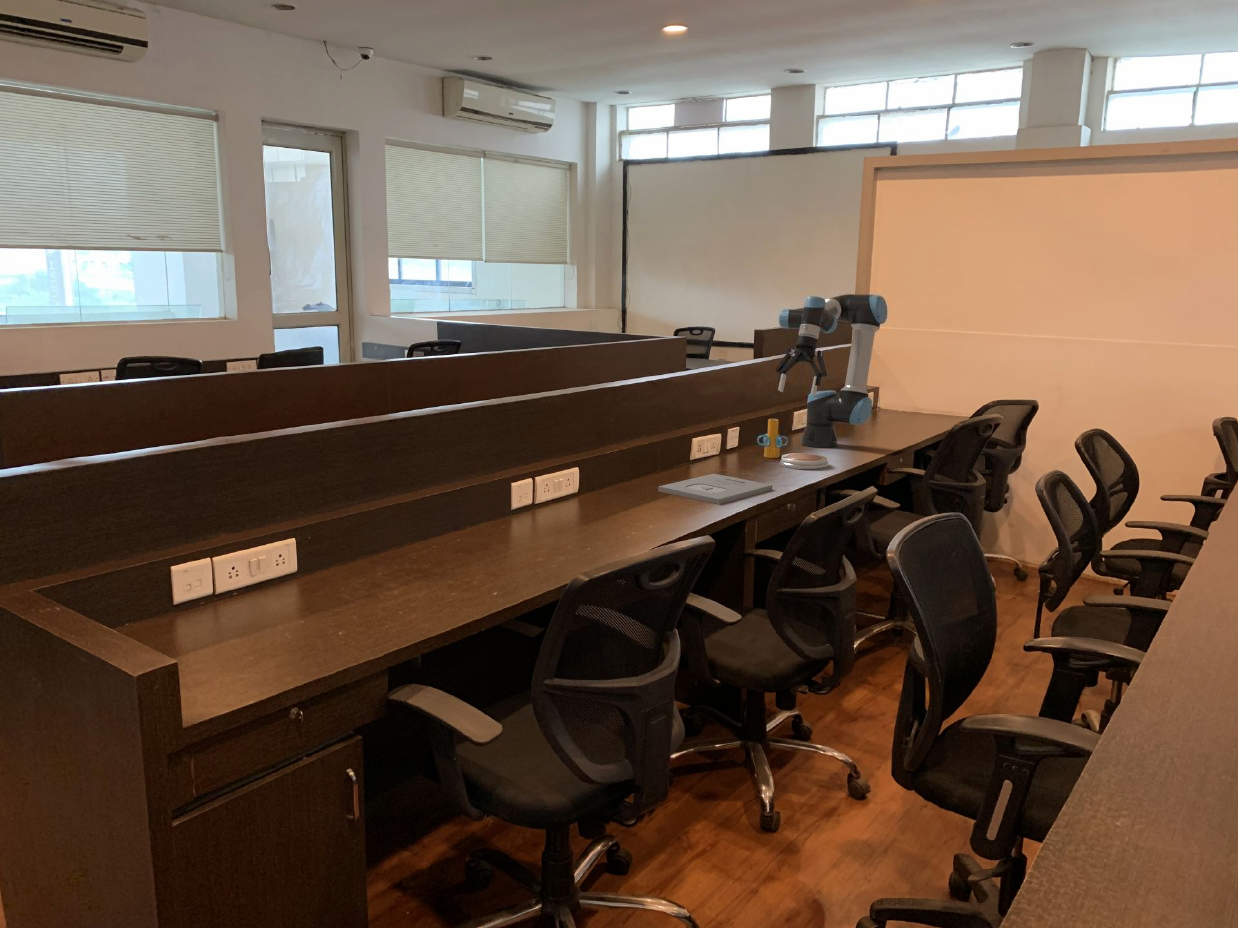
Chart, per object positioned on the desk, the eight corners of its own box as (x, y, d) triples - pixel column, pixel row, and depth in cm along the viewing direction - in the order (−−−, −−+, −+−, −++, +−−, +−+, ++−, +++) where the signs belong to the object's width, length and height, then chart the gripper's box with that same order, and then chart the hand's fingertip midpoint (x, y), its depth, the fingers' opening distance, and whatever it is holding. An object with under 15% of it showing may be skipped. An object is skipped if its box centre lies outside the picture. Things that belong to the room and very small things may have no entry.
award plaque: (772, 491, 310) (772, 484, 310) (718, 505, 288) (718, 499, 288) (713, 479, 326) (713, 473, 326) (658, 492, 305) (658, 486, 304)
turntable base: (819, 460, 362) (819, 456, 361) (834, 470, 344) (834, 466, 344) (774, 460, 360) (774, 457, 359) (787, 470, 342) (787, 466, 342)
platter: (818, 457, 361) (819, 452, 360) (833, 465, 344) (833, 461, 344) (776, 457, 359) (776, 452, 359) (788, 465, 342) (788, 461, 342)
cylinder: (786, 455, 372) (788, 418, 369) (788, 459, 362) (790, 422, 359) (755, 453, 373) (757, 417, 370) (756, 458, 363) (758, 421, 360)
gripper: (774, 333, 352) (762, 387, 350) (834, 336, 336) (823, 393, 335) (782, 338, 358) (771, 392, 356) (842, 342, 342) (831, 397, 341)
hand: (796, 392), depth 346 cm, fingers open, 13 cm apart
